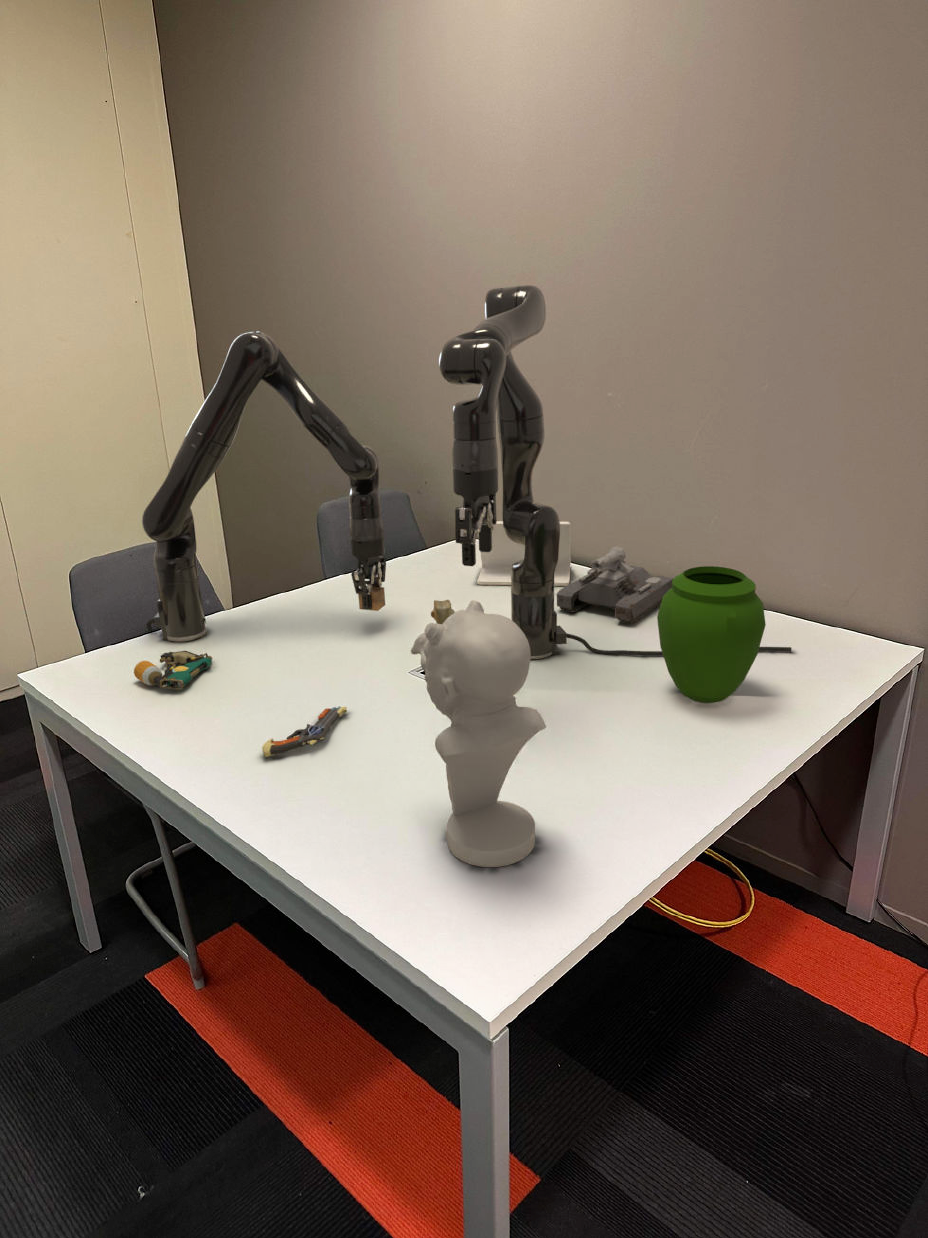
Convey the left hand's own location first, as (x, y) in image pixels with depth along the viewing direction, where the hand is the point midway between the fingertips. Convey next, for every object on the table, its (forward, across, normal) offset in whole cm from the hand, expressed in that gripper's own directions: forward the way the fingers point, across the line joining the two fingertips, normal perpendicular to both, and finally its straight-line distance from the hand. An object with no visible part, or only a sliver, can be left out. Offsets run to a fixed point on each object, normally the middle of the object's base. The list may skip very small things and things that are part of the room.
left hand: (372, 605), depth 201 cm
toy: (+6, -33, +52) cm, 61 cm away
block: (0, 0, 0) cm, 0 cm away
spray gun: (+6, +36, -28) cm, 46 cm away
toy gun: (+6, +51, +11) cm, 53 cm away
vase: (+6, +14, +78) cm, 79 cm away
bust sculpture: (+6, +70, +50) cm, 86 cm away
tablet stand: (+6, -50, +23) cm, 55 cm away
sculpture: (+6, +17, +25) cm, 31 cm away
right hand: (-25, +36, +40) cm, 59 cm away
